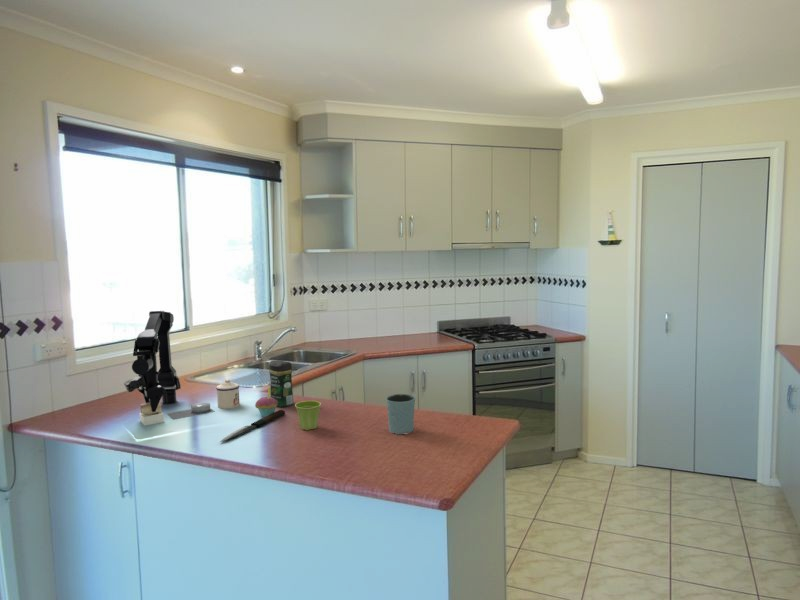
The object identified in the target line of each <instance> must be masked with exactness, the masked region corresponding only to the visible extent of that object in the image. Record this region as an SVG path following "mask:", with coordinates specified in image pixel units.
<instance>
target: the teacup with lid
mask: <svg viewBox="0 0 800 600" xmlns="http://www.w3.org/2000/svg"><path fill="white" fill-rule="evenodd" d="M216 396H217V397H216V398H217V401H216V402H217V408H218V409H223V410H224V409H226V410H227V409H234V408H237V407H239V406H240V405H241V403H240V385H239V384H238V383H235V382H233V381H231V380H230V378H229V379H225V380H224V382H222V383H221V384H218V385H217V386H216Z"/></svg>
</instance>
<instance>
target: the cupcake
mask: <svg viewBox="0 0 800 600" xmlns="http://www.w3.org/2000/svg"><path fill="white" fill-rule="evenodd" d="M267 391H268V392H267V397H260V398H259V399H257V401H256V402H255V408H256V409H258V411H259V413H260V415H261V417H262V416H263V417H262V418H264V417H266V416H268V415H270V414H272V413H274V412H276V409H277V408H278V406H277V405H278V402H277V400H275V399H274V398H272V397H270V386H269V387H268V390H267Z"/></svg>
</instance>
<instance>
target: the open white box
mask: <svg viewBox="0 0 800 600" xmlns="http://www.w3.org/2000/svg"><path fill="white" fill-rule="evenodd" d="M138 415H139V422H140V423H141V424H142V425H143V426H144V427H145V426H150V425H155V424H161V423H164V422H165V416H164V415H165V413H164V412H163V411H162V410H161V411H159V412H156V413H151V414H143V413H141V412H139V414H138Z"/></svg>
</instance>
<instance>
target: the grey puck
mask: <svg viewBox="0 0 800 600" xmlns="http://www.w3.org/2000/svg"><path fill="white" fill-rule="evenodd" d="M210 408H211V403H209V402H196V403H193V404H191V408H190V409H191V412H192V413H204V412H208V411H210Z"/></svg>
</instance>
